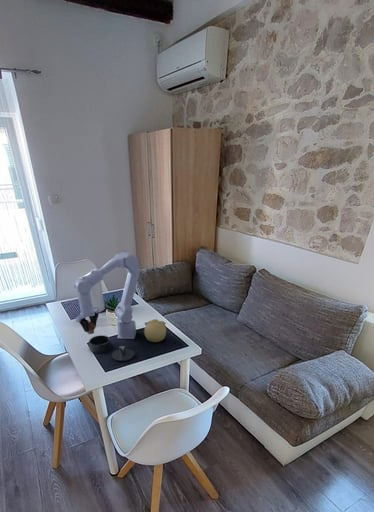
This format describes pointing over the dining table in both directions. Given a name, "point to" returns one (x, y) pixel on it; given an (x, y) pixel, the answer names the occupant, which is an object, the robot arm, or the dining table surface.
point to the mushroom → (91, 327)
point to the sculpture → (155, 330)
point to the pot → (100, 344)
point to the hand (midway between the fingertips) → (90, 329)
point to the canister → (96, 296)
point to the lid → (122, 354)
